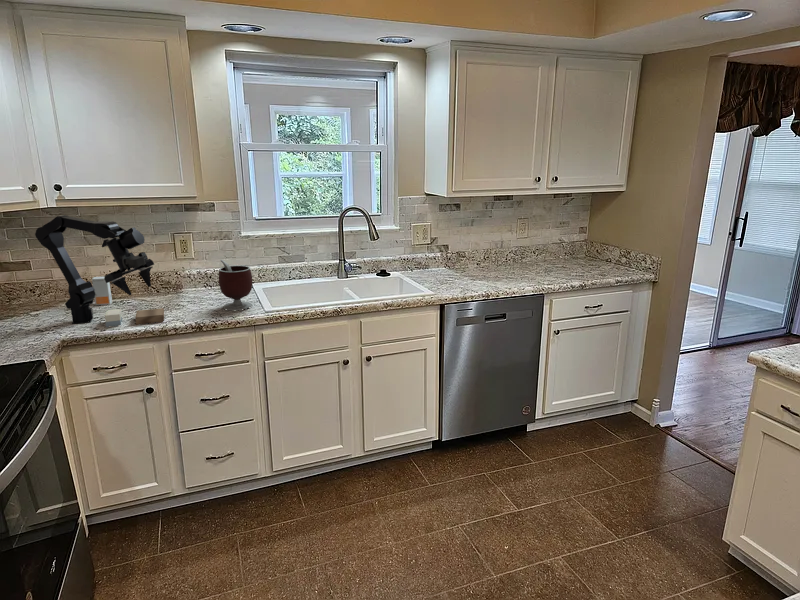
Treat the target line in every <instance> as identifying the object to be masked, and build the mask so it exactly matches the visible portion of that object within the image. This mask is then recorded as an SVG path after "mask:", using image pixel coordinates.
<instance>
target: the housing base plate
mask: <svg viewBox="0 0 800 600" xmlns="http://www.w3.org/2000/svg"><path fill="white" fill-rule="evenodd" d="M104 322H105V323H104V324H105V328H110V327H109V326H114V327H119V326H118V325H121V326H122V323H121V322H123V316H122V317H121V320H119V321H110V322H106V321H104Z"/></svg>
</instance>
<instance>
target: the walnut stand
mask: <svg viewBox="0 0 800 600" xmlns="http://www.w3.org/2000/svg"><path fill="white" fill-rule="evenodd" d="M134 318H135V325H136V326H138V325H139V324H140V325H147V324H146V323H149V324H155V323H154V322H159V323H164V322H165V309H164V308H162V307H160V308H159V307H158V308H152V309H149V308H148V309H141V310H140V309H139V310H136V313H135V317H134ZM163 321H164V322H163Z"/></svg>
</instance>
